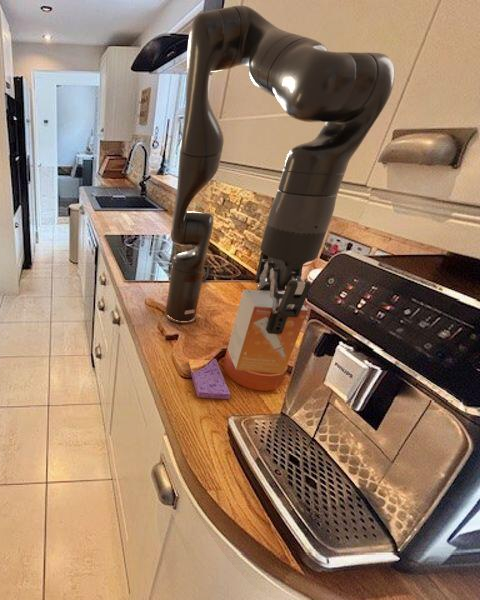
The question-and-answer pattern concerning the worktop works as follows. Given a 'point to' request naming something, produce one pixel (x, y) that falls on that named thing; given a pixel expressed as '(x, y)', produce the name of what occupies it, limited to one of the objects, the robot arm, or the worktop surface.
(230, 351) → the small box
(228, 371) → the bowl
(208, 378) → the sponge
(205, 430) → the worktop surface
